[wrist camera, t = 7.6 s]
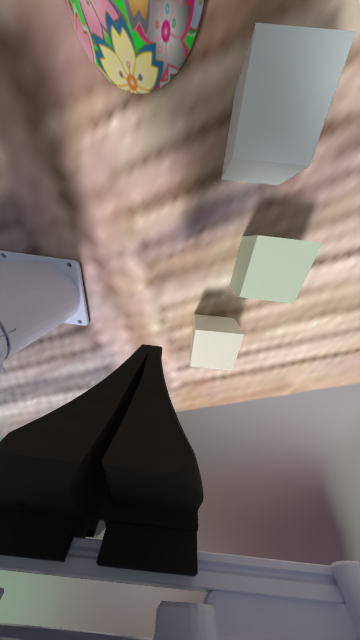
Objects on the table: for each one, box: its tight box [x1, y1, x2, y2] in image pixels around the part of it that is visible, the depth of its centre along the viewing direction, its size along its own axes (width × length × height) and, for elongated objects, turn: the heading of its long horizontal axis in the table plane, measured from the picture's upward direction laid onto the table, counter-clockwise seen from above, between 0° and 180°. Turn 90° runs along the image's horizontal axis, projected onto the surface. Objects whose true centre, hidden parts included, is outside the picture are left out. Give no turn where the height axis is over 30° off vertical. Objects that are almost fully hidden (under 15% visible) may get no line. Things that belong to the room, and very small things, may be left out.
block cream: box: [190, 314, 244, 370], centre depth 19 cm, size 5×5×4 cm
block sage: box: [230, 235, 322, 304], centre depth 15 cm, size 5×5×4 cm
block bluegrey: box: [221, 23, 356, 185], centre depth 11 cm, size 5×5×4 cm
